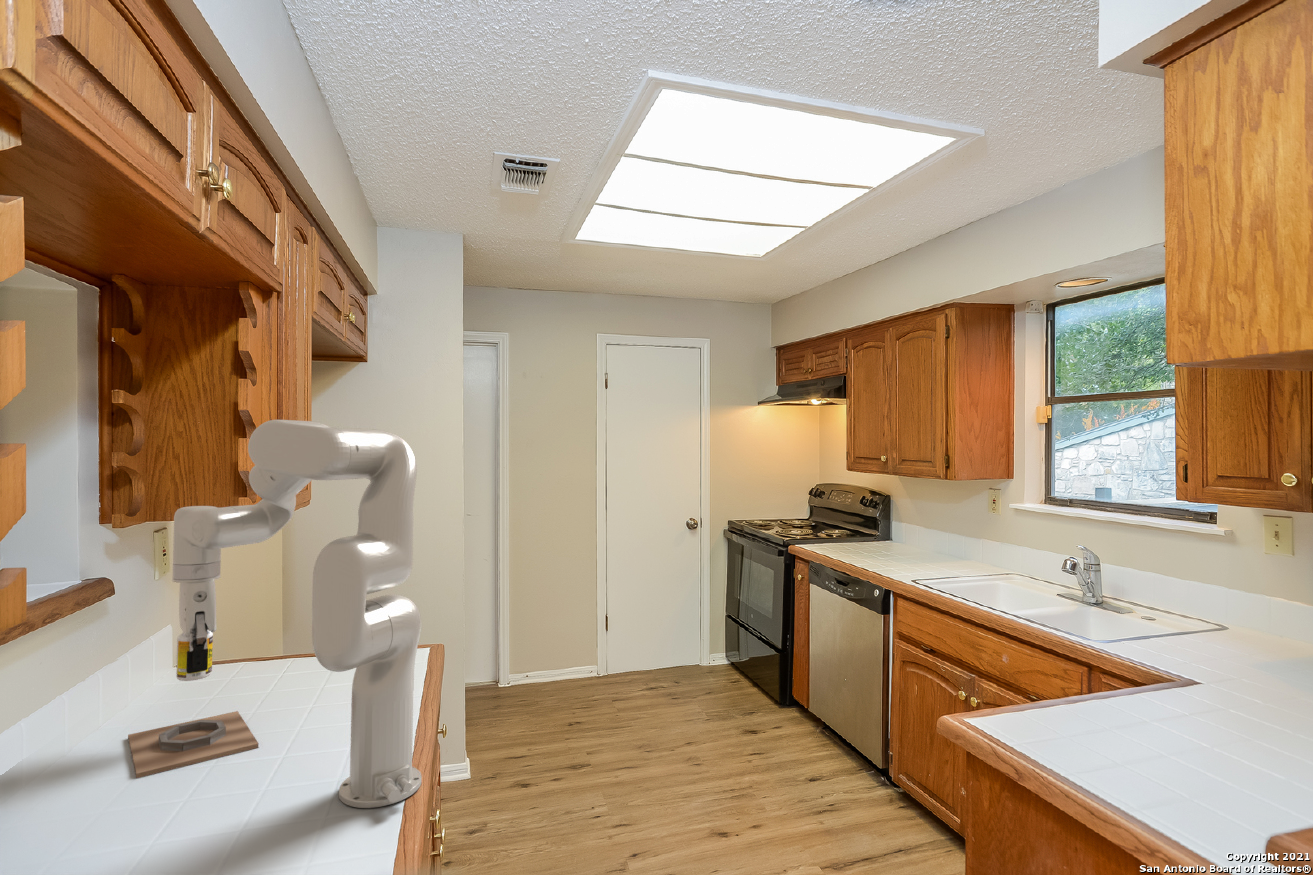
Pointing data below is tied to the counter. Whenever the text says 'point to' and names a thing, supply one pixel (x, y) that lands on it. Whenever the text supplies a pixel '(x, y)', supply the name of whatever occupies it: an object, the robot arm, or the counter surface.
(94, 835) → the counter surface
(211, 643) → the supplement bottle
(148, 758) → the ring board
